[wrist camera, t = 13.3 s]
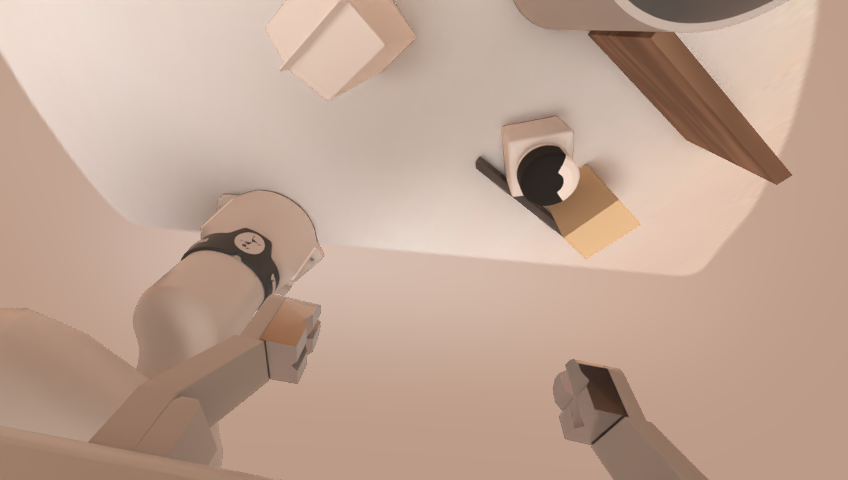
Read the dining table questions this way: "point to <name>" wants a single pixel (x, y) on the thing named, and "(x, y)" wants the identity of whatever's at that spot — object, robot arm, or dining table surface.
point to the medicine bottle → (540, 160)
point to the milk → (338, 41)
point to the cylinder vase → (643, 14)
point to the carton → (592, 215)
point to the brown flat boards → (676, 105)
